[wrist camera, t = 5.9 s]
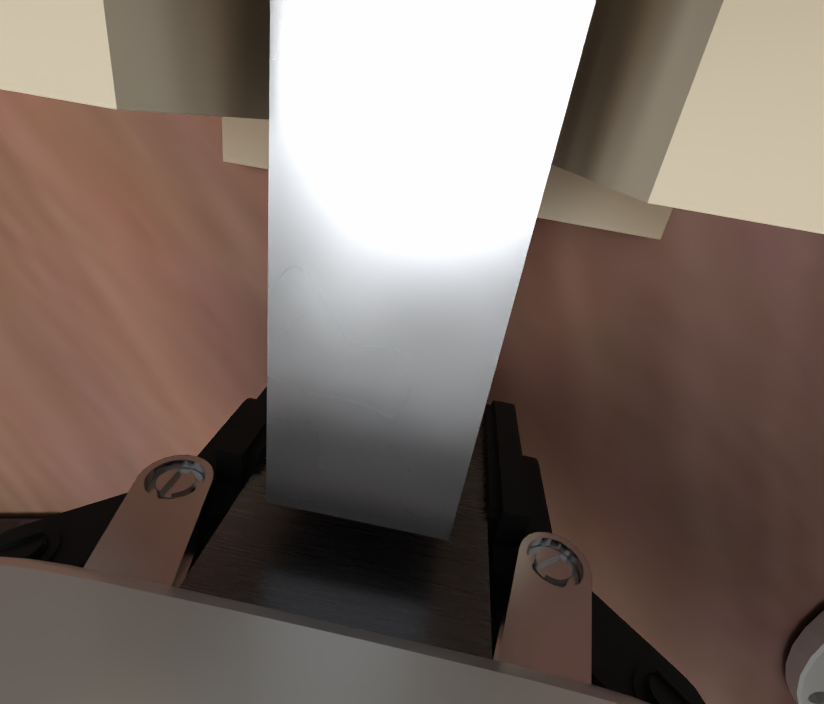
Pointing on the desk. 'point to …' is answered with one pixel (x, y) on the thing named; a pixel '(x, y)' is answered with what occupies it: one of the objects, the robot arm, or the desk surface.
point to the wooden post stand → (584, 118)
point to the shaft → (392, 303)
